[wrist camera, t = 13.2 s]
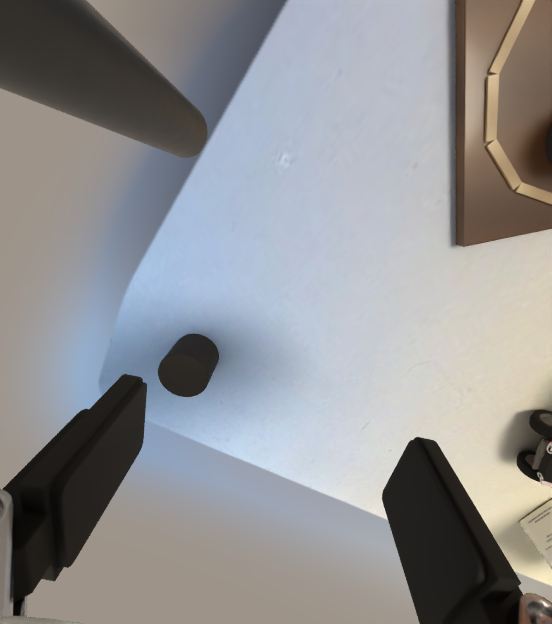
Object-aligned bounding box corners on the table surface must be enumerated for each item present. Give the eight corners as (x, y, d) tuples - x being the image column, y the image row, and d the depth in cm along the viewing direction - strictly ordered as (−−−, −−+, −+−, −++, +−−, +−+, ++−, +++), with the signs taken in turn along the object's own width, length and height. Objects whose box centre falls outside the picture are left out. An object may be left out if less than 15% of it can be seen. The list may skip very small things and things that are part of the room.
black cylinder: (168, 338, 25) (149, 358, 22) (211, 329, 25) (199, 349, 21) (183, 376, 27) (168, 400, 23) (224, 369, 26) (214, 393, 23)
